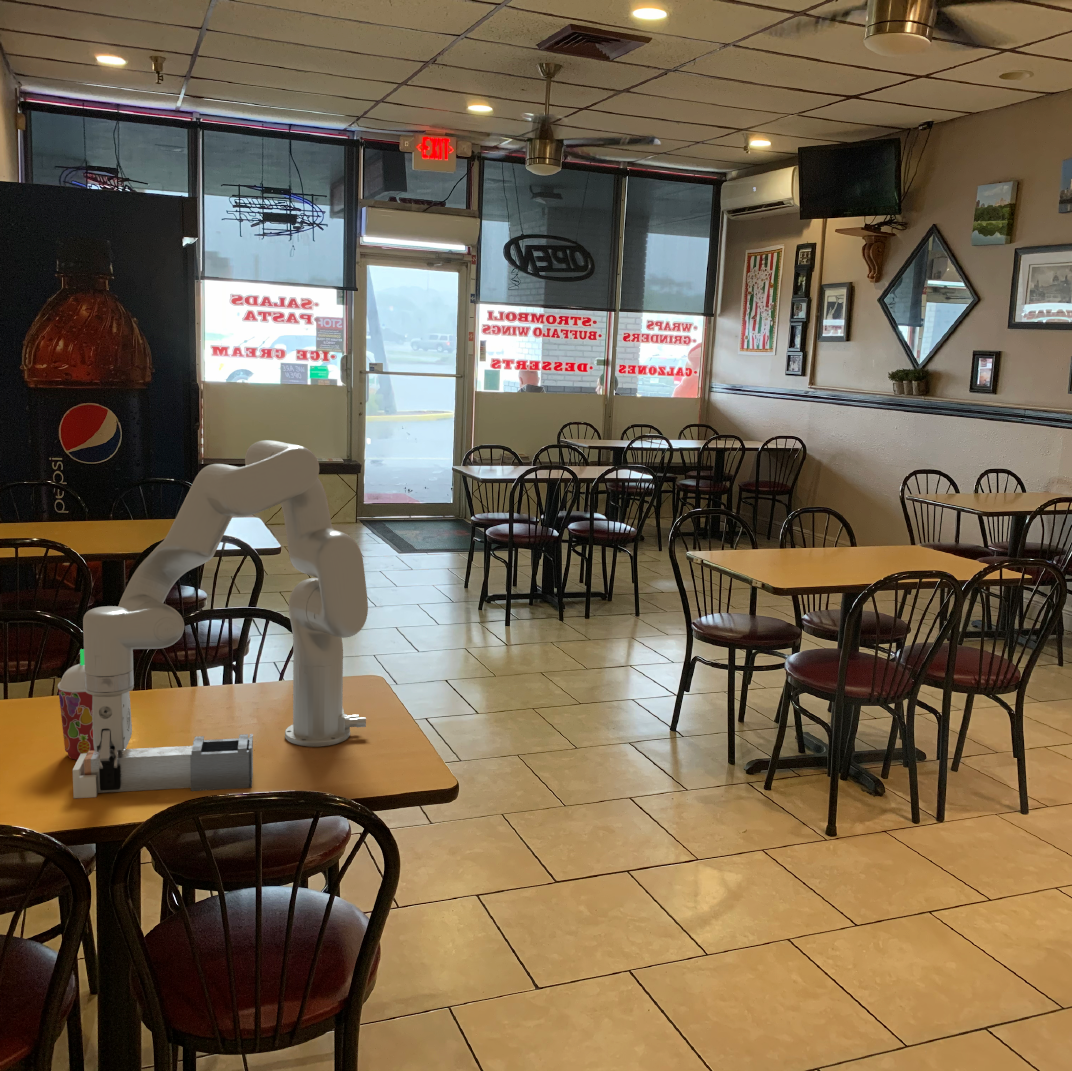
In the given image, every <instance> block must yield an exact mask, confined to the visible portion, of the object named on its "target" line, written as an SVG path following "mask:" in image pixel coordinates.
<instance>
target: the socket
mask: <svg viewBox="0 0 1072 1071" xmlns="http://www.w3.org/2000/svg"><path fill="white" fill-rule="evenodd" d="M86 755H87V753H83V754H80V756H79V758H78V760H76V762H75V765H74V766H73V768H72V787H73V788H72V789H73V790H72V792H73V799H83V798H87V799H88V798H97V796H98V793H97V775H85V768H84V759H85V757H86Z"/></svg>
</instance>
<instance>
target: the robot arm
mask: <svg viewBox="0 0 1072 1071" xmlns="http://www.w3.org/2000/svg"><path fill="white" fill-rule="evenodd" d="M244 462H245V463H244V464H245V465H243V466H235V465H229V464H225V463H213V464H208V465H206V466H204V467H203V468H201V470H200V471H199V472H198V474H197V475H196V476H195V477H194V480H193V482H192V484H191V486H190V488H189V491H188V492H187V494H186V497H185V498H184V501H183V503H182V504H181V506H180V508H179V511H178V513H177V514H176V516H175V518H174V520H173V523H172V525H171V526H170V529H169V531H168V532H167V534H166V536H165V538H164V539H163V540H162V541H161V542H160V543H159V544H158V545H157V546H156V547H155V548H154V549H153V551H151V552H150V553H149V555H148V556H147V557H145V558H144V559H143V561H142V562H141V563H140V564H139V566H138V567H137V568H136V569H135V571H134V573H133V574H132V576H131V578H130V580H129V581H128V583H127V585H126V588H125V590H124V592H123V593H122V596H121V598H120V601H119V602H118V603H119V604H118V606H116V605H114V606H113V605H107V606H98V607H94V608H92V609H89V610H87V611H86V612H85V614H84V615H83V619H82V627H83V628H82V629H83V630H82V631H83V633H82V634H83V649H84V664H85V691H86V693H88V694H91V695H92V716H93V744H94V750H95V751H96V752H97V753H98V752H99V751H100V767H99V777H100V790H102V791H104V790H119V789H120V787H121V780H120V766H118V750H121V751H124V750H125V749H128V748H127V747H128V745H129V742H130V740H131V737H132V733H133V724H132V711H131V694H130V691H132V690H133V689H134V688H135V686H134V684H135V681H134V652H133V651H134V650H152V649H153V650H157V649H164V648H168V647H171V646H173V645H174V644H175V643H177V642H178V641H179V640H180V639H181V638H182V636H183V634H184V632H185V631H184V630H185V622H184V618H183V617H182V615H181V614H180V612H179V611H177V610H176V609H175V608H174V607H172V606H170V605H168V604H166V603H164V602H165V600H166V599H167V597H168V595H169V593H170V591H171V589H172V588H173V586H174V585H175V584H176V582H177V581H178V580H179V579H180V578H181V577H182V576H184V575H185V574H186V573H187V572H189V571H192V570H193V569H195V568H197V567H200V566H202V565H203V564H205V563H208V562H209V561H211V560H212V559H213V557H214V556H215V554H216V552H217V550H218V547H219V545H220V543H221V541H222V539H223V536H224V535H225V533H226V531H227V529H228V526H229V525H230V523H231V521H232V518H233V517H236V518H244V517H245V518H246V517H249V516H253V515H256V514H258V513H260V512H263V511H266V510H269V509H270V508H273V507H275V506H278V505H279V504H280V506H281V510H282V515H283V520H284V528H285V534H286V543H287V550H288V556H289V561H290V563H291V565H292V567H293V568H294V569H295V570H297V571H298V572H300V573H302V574H305V575H307V576H311V578H306V579H303V580H301V581H300V582H298V583H297V584H296V585H295V586H294V587H293V589H292V591H291V592H290V595H289V600H288V613H289V620H290V625H291V630H292V633H291V634H292V644H293V645H292V646H293V649H292V650H293V651H292V652H293V653H292V654H293V655H292V656H293V660H292V663H293V664H292V668H293V669H292V675H293V676H292V685H293V686H292V689H293V692H292V696H293V697H292V698H293V700H292V717H293V718H292V724H290V725H289V726H288V727H287V728H286V729H285V731H284V737H285V740H287V742H289V743H291V744H293V745H297V746H300V747H301V746H302V747H310V748H311V747H313V748H315V747H317V748H319V747H327V746H328V747H329V746H333V745H337V744H340V743H342V742H344V741H346V740H348V738H349V737H350V736H351V728H366V727H367V718H366V717H362V716H361V717H359V714H352V715H351V714H349V715H348V714H347V713H345V712H344V711H345V710H344V707H343V701H344V700H343V699H344V698H343V695H344V694H343V690H344V689H343V687H344V686H343V684H344V683H343V681H344V646H343V639H346V638H347V639H348V638H351V637H353V636H355V635H357V634H358V633H359V632H361V630H362V629H363V627H364V626H365V624H366V621H367V619H368V618H367V617H368V612H369V601H368V591H367V590H368V589H367V583H366V575H365V573H366V572H365V565H364V559H363V553H362V551H361V549H360V546H359V545H358V543H357V541H356V540H355V539H354V538H353V537H351V536H350V535H349V534H347V533H345V532H343V531H339V530H336V529H335V528H334V527H333V525H332V519H331V514H330V508H329V502H328V496H327V493H326V490H325V488H324V485H323V483H322V481H321V480H320V478H319V473H320V463H319V460H318V458H317V456H316V455H315V453H313V451H311V450H310V449H308V448H307V447H305V446H302V445H298V444H294V443H288V442H287V443H286V442H283V441H278V440H272V439H271V440H269V439H268V440H267V439H265V440H258V441H256V442H254V443H252V444H251V445H250V446H249V447H248V448H247V450H246V453H245V457H244ZM111 753H114V758H113V756H111V755H110V754H111Z"/></svg>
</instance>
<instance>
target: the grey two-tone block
mask: <svg viewBox="0 0 1072 1071" xmlns="http://www.w3.org/2000/svg"><path fill="white" fill-rule="evenodd" d="M192 748H193V745H186V746H185V745H183V746H181V745H180V746H179V745H178V746H163V747H162V746H161V747H142V748H138V747H137V748H126V749H125V750H124V751H121V750H118V766H120V780H121V787H120V789H119V790H104V791H102V790H100V777H99V767H100V751H99V752H98V753H97V752H96V751H88V753H87V755H86V757H85V759H84V768H85V775H97V794H98V793H99V794H101V793H117V792H118V793H119V792H136V791H156V790H169V789H189V788H190V789H191V770H190V754H191V753H192ZM110 755H111V756H113V758H114V753H111V754H110Z"/></svg>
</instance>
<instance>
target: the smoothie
mask: <svg viewBox="0 0 1072 1071" xmlns="http://www.w3.org/2000/svg"><path fill="white" fill-rule="evenodd" d="M79 653H80V655H79V656H80V657H79V658H80V663H78V664H74V665H73V666H71V667H69V668H68V669H67V670H66V671H65V672H64V673H63V675H62V677H61V680H60V681H59V682H58V684H57V688H58V697H59V707H60V708H59V709H60V717H61V725H62V726H61V727H62V733H63V735H62V736H63V744H64V751H65V752H66V753H67V756H68V758H69V759H72V760H74V761H75V760H76V761H77V760H78V758H79V756H80V754H83V753H88V751H95V750H94V744H93V716H92V695H91V694H88V693H86V691H85V664H84V648H83V649H82V648H81V649H80V650H79Z"/></svg>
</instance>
